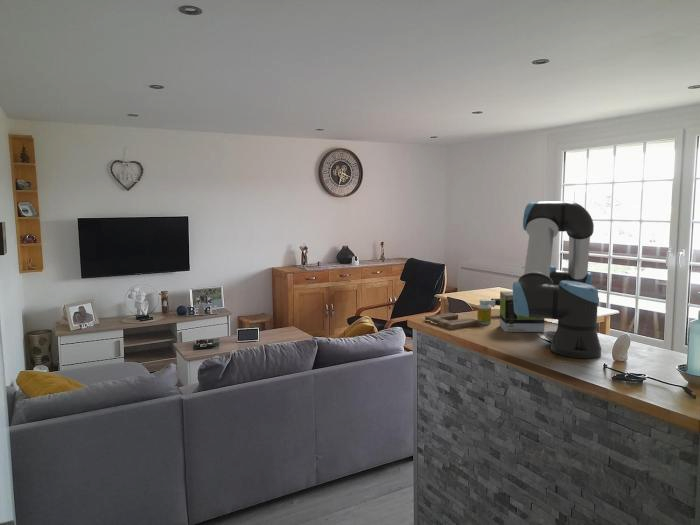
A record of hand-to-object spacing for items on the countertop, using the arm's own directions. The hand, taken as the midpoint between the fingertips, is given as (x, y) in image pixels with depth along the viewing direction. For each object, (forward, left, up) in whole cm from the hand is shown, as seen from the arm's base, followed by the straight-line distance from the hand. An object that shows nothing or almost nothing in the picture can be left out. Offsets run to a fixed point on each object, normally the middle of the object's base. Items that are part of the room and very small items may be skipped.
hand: (495, 307), depth 206 cm
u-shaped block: (+6, +19, -6) cm, 20 cm away
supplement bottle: (0, +7, -6) cm, 9 cm away
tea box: (-15, +2, -6) cm, 17 cm away
